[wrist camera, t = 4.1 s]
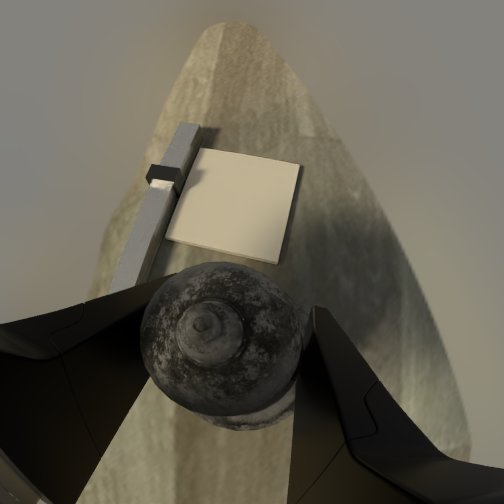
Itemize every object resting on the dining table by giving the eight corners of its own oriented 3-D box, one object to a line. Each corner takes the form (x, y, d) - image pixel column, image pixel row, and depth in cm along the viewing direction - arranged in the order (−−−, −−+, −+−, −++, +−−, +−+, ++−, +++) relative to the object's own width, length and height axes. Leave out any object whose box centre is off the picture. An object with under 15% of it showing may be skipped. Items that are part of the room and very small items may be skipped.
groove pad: (277, 264, 18) (277, 262, 17) (166, 239, 18) (164, 236, 18) (299, 168, 20) (299, 164, 19) (201, 151, 21) (200, 147, 20)
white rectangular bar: (123, 373, 16) (108, 373, 14) (96, 362, 16) (79, 360, 14) (206, 138, 21) (202, 119, 19) (181, 135, 21) (175, 117, 19)
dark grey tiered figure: (302, 421, 14) (407, 536, 2) (181, 409, 14) (6, 470, 3) (310, 304, 16) (408, 147, 5) (194, 295, 16) (71, 138, 5)
